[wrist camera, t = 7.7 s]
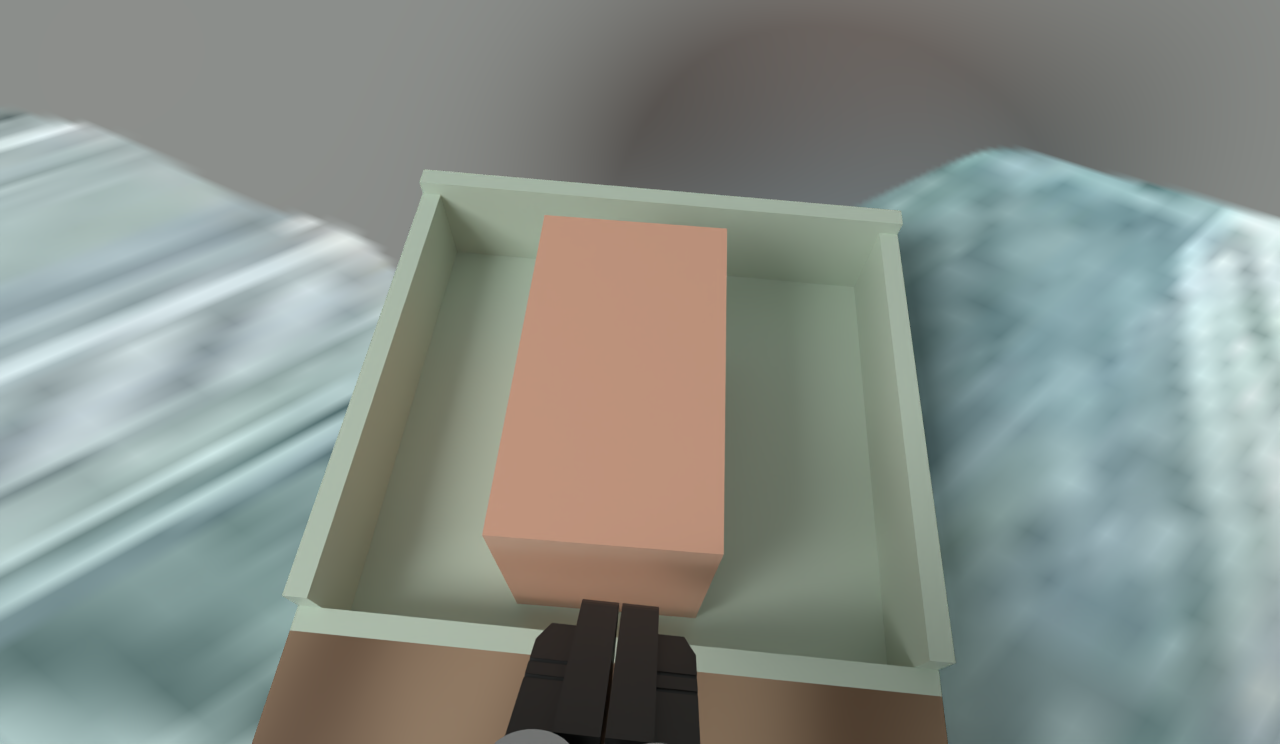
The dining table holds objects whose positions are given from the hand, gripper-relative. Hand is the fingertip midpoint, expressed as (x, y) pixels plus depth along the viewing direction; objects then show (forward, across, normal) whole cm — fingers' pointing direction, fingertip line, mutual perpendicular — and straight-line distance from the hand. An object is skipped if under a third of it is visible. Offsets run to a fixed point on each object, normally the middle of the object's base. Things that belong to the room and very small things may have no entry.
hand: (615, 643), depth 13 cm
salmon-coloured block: (+3, 0, +1) cm, 4 cm away
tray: (+10, 0, -1) cm, 10 cm away
